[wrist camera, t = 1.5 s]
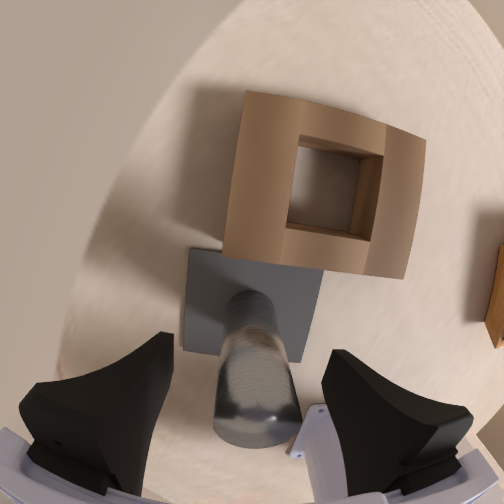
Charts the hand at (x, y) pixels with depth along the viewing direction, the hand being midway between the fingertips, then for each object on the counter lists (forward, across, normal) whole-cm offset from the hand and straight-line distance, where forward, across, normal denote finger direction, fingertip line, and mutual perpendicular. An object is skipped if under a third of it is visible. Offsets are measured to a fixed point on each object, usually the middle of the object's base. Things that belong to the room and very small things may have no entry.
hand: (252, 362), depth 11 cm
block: (+6, -3, -8) cm, 10 cm away
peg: (+5, 0, 0) cm, 5 cm away
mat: (+6, 0, 0) cm, 6 cm away
